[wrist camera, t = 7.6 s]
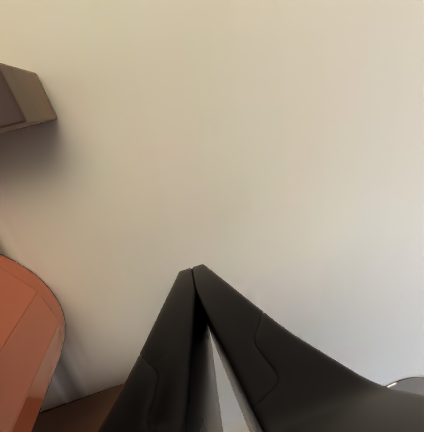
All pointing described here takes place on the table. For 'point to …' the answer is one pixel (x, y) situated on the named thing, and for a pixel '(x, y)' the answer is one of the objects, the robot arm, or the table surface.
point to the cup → (26, 345)
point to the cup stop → (14, 119)
